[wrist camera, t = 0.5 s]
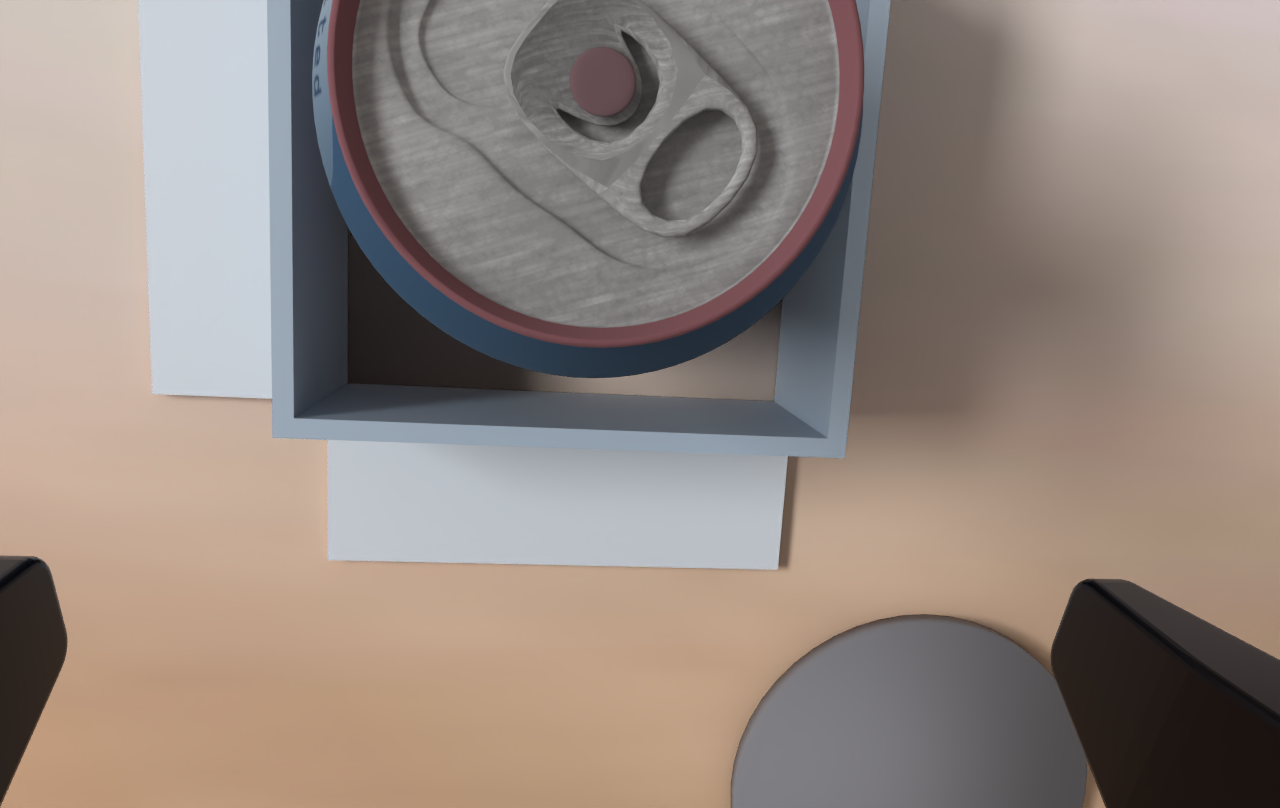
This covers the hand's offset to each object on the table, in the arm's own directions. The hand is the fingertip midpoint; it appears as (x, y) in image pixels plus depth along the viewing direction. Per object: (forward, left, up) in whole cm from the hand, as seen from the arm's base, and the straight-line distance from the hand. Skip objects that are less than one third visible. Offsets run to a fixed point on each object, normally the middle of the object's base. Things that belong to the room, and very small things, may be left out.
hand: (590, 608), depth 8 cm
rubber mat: (-11, -10, -14) cm, 21 cm away
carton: (+3, +2, -14) cm, 15 cm away
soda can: (+5, 0, -15) cm, 15 cm away
